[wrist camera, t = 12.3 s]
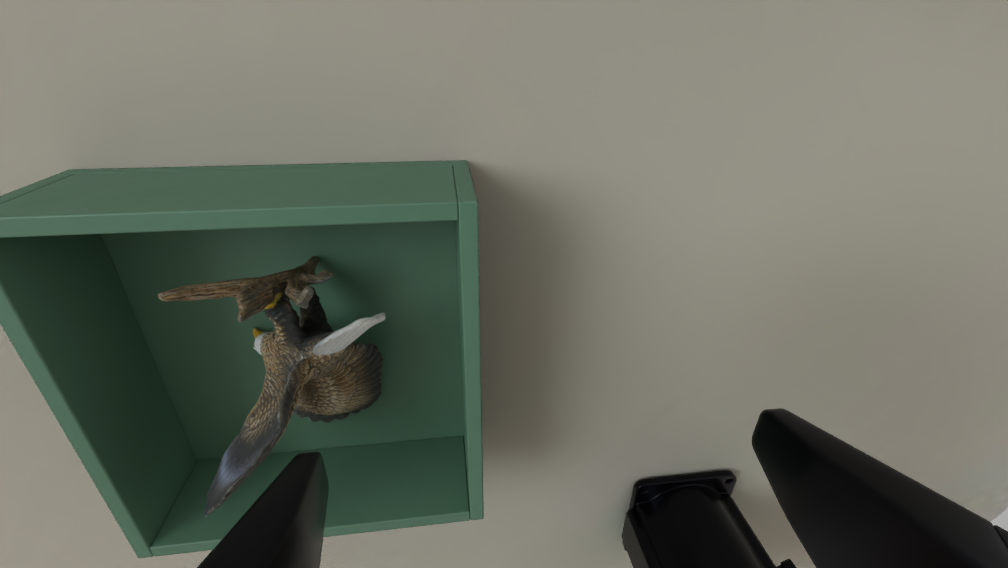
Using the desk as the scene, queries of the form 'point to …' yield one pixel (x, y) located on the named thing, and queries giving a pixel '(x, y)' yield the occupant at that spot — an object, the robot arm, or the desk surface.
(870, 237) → the desk surface
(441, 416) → the bin
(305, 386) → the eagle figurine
